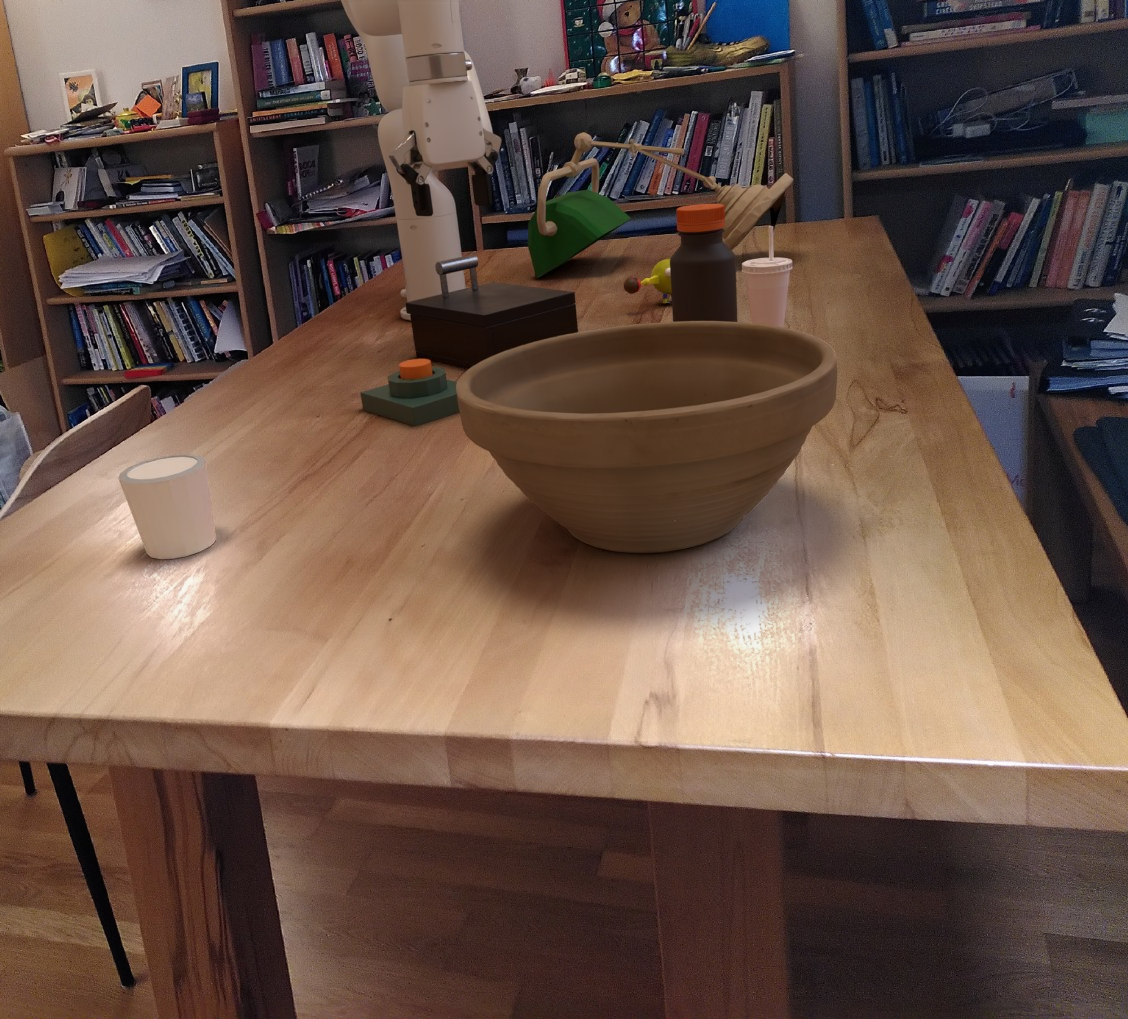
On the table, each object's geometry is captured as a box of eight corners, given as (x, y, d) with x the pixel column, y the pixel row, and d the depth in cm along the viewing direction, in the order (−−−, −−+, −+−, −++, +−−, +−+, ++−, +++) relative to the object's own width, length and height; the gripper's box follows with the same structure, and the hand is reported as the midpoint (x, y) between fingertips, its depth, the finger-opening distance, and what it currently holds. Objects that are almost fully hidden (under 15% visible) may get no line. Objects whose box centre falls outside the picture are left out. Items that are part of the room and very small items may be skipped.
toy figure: (642, 317, 154) (639, 270, 151) (616, 313, 158) (613, 268, 155) (722, 293, 164) (721, 250, 162) (696, 290, 168) (694, 248, 166)
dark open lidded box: (416, 357, 143) (409, 314, 141) (502, 334, 152) (497, 293, 149) (490, 374, 131) (485, 327, 129) (579, 348, 140) (575, 303, 137)
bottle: (700, 408, 110) (691, 213, 102) (665, 395, 115) (654, 209, 108) (752, 395, 112) (747, 203, 105) (715, 383, 118) (708, 200, 111)
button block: (363, 410, 121) (357, 377, 120) (427, 391, 126) (422, 359, 125) (415, 426, 113) (409, 391, 112) (481, 405, 118) (477, 371, 117)
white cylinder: (152, 533, 91) (132, 458, 88) (231, 524, 91) (214, 448, 89) (128, 566, 84) (106, 486, 82) (213, 556, 85) (194, 476, 82)
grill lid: (406, 313, 141) (399, 266, 139) (493, 292, 150) (488, 247, 148) (485, 327, 128) (479, 275, 126) (575, 303, 137) (571, 254, 135)
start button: (395, 379, 119) (392, 364, 118) (421, 371, 121) (419, 357, 120) (412, 383, 116) (410, 368, 115) (439, 376, 118) (436, 361, 117)
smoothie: (793, 341, 132) (792, 228, 127) (742, 343, 134) (739, 232, 128) (793, 329, 138) (792, 221, 133) (744, 332, 139) (741, 224, 134)
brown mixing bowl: (433, 503, 91) (411, 356, 86) (713, 436, 101) (708, 301, 96) (560, 640, 67) (539, 446, 62) (915, 535, 76) (921, 359, 71)
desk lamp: (676, 342, 217) (537, 216, 215) (819, 183, 196) (666, 43, 195) (635, 390, 186) (473, 244, 185) (798, 208, 166) (617, 43, 165)
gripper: (473, 69, 140) (489, 201, 147) (363, 78, 130) (384, 219, 136) (508, 64, 135) (522, 201, 141) (395, 73, 125) (416, 220, 131)
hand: (454, 210), depth 139 cm, fingers open, 9 cm apart
